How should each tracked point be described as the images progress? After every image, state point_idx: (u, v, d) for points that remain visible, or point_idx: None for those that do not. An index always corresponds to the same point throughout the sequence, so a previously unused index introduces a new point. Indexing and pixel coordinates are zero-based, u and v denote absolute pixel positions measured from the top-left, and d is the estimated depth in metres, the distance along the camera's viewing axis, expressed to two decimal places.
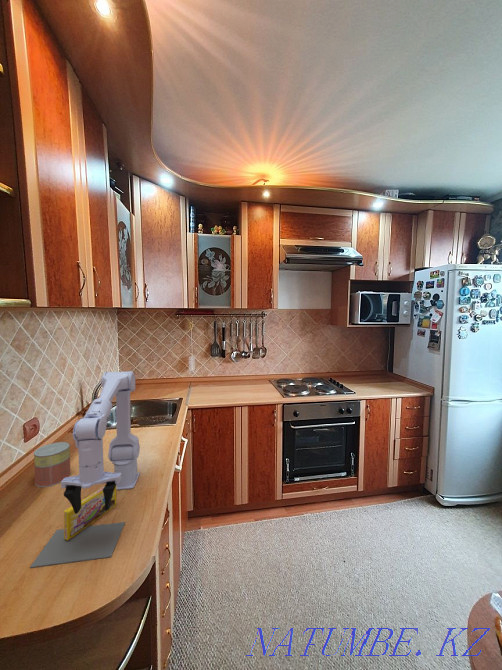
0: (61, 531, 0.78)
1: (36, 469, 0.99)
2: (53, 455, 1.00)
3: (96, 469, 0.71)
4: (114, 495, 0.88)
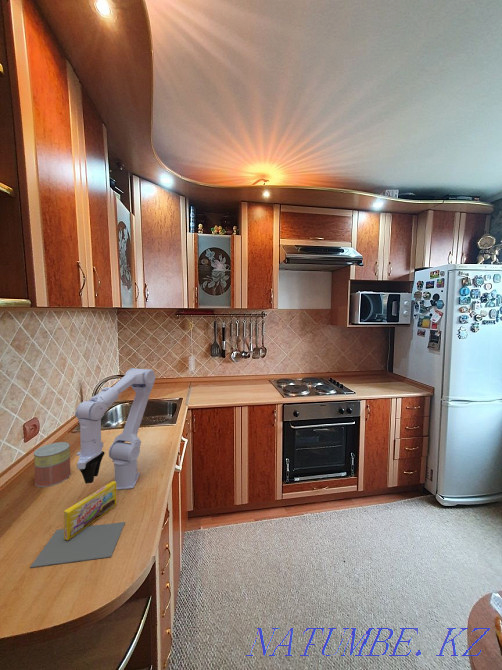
0: (61, 531, 0.78)
1: (36, 469, 0.99)
2: (53, 455, 1.00)
3: (81, 445, 0.83)
4: (114, 495, 0.88)
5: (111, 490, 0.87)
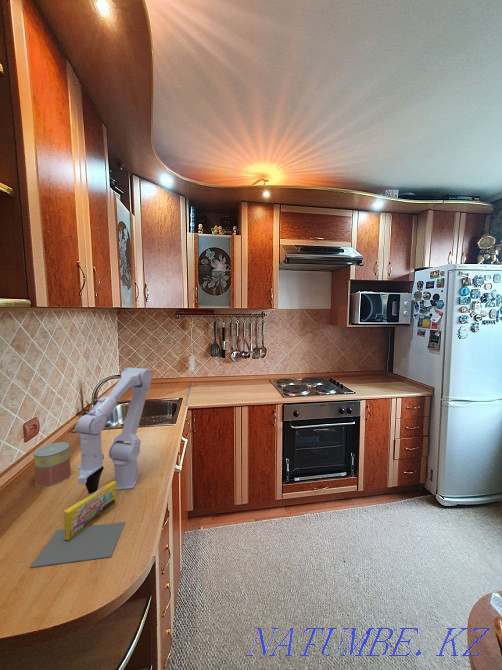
0: (61, 531, 0.78)
1: (36, 469, 0.99)
2: (53, 455, 1.00)
3: (82, 459, 0.84)
4: (114, 495, 0.88)
5: (111, 490, 0.87)
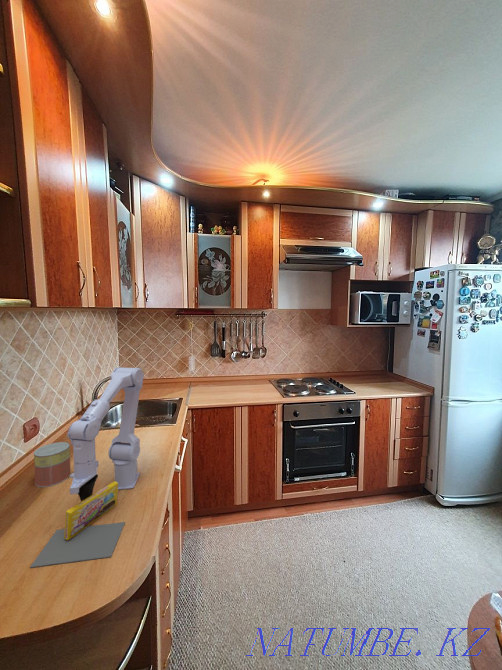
0: (61, 531, 0.78)
1: (36, 469, 0.99)
2: (53, 455, 1.00)
3: (74, 467, 0.79)
4: (115, 495, 0.88)
5: (112, 491, 0.87)
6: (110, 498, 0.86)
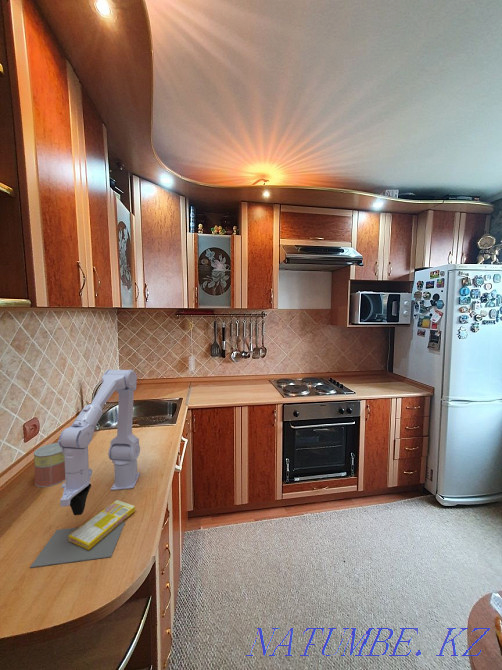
0: (61, 531, 0.78)
1: (36, 469, 0.99)
2: (53, 455, 1.00)
3: (66, 477, 0.74)
4: None
5: None
6: None
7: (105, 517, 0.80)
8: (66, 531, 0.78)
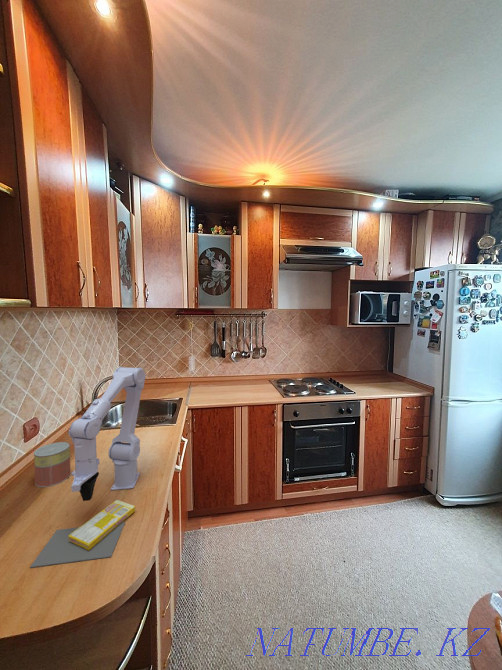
0: (61, 531, 0.78)
1: (36, 469, 0.99)
2: (53, 455, 1.00)
3: (76, 465, 0.80)
4: None
5: None
6: None
7: (105, 517, 0.80)
8: (66, 531, 0.78)
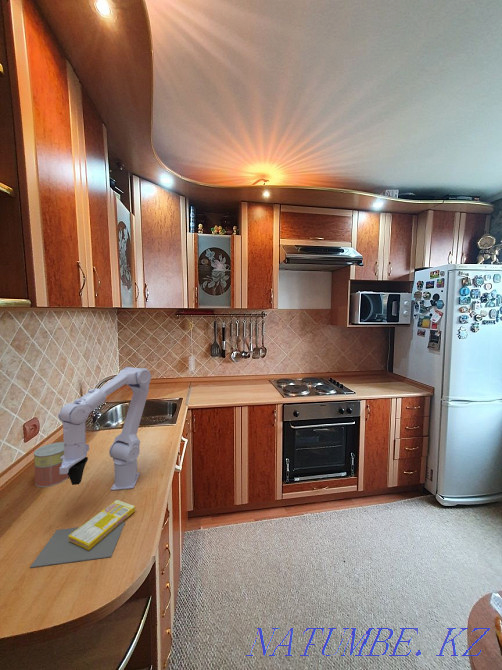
0: (61, 531, 0.78)
1: (36, 469, 0.99)
2: (53, 455, 1.00)
3: (64, 449, 0.81)
4: None
5: None
6: None
7: (105, 517, 0.80)
8: (66, 531, 0.78)
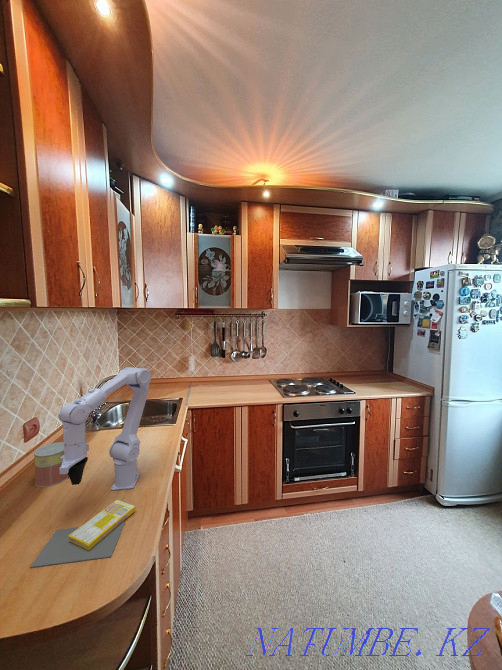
0: (61, 531, 0.78)
1: (36, 469, 0.99)
2: (53, 455, 1.00)
3: (64, 449, 0.81)
4: None
5: None
6: None
7: (105, 517, 0.80)
8: (66, 531, 0.78)
